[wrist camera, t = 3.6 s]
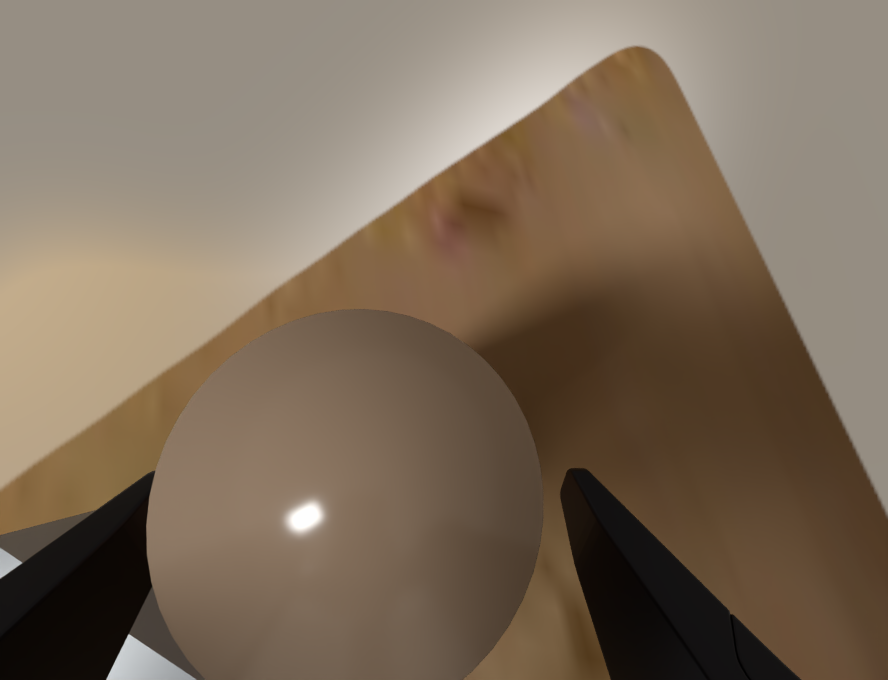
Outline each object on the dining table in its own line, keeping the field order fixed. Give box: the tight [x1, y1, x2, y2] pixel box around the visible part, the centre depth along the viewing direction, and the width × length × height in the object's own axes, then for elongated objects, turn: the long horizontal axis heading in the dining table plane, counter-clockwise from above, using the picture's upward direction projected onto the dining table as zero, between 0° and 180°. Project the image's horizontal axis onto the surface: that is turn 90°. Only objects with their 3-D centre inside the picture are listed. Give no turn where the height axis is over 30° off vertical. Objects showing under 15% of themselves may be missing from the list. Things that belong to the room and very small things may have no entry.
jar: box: [146, 309, 543, 680], centre depth 11 cm, size 5×5×12 cm
